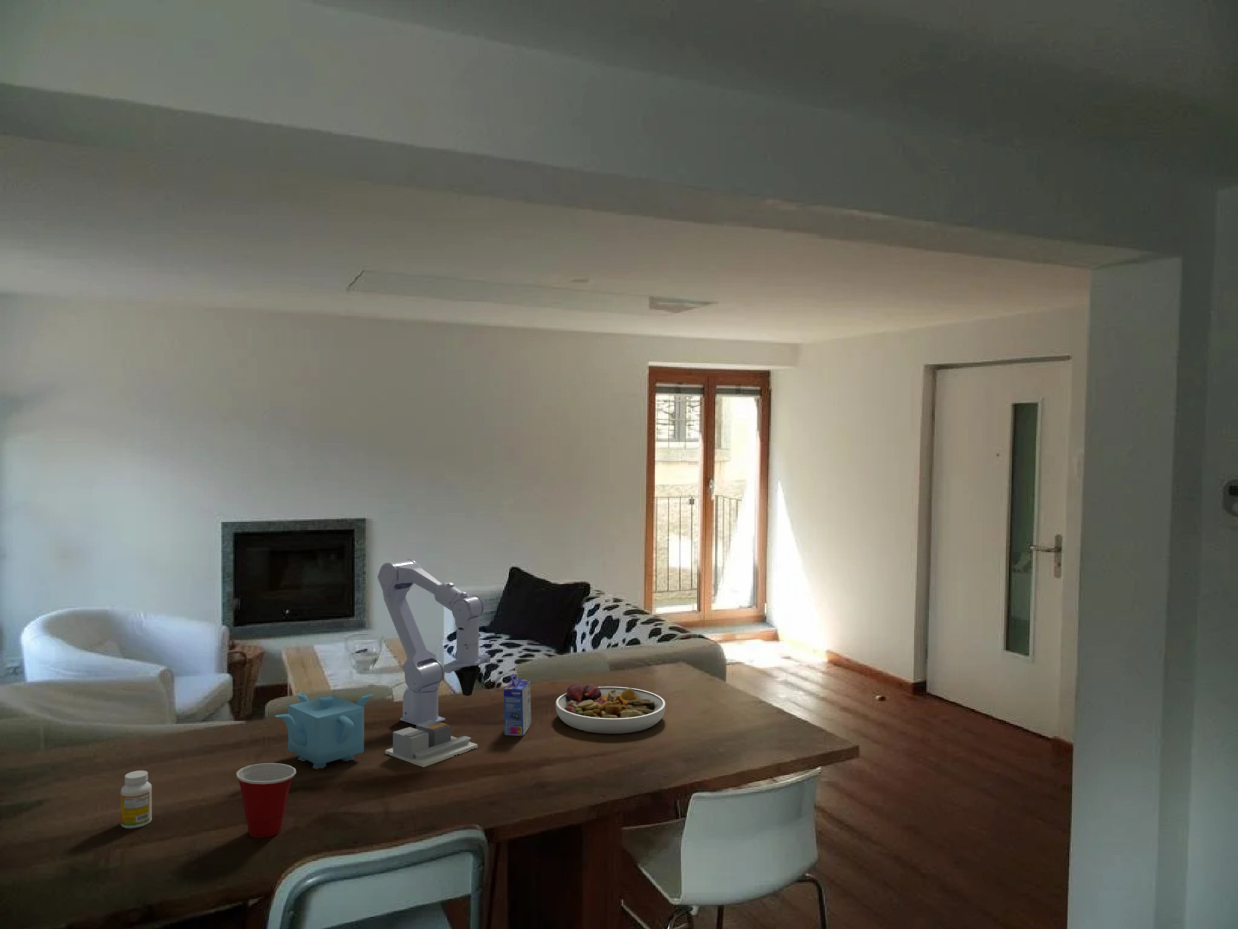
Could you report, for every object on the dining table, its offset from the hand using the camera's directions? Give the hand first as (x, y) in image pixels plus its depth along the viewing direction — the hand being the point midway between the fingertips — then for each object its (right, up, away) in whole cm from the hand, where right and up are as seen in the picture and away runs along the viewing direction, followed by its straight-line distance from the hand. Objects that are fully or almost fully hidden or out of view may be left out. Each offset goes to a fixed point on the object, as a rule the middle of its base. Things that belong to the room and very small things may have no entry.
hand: (467, 695), depth 231 cm
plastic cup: (-28, -11, -60) cm, 67 cm away
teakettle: (-31, -10, -20) cm, 38 cm away
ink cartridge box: (+13, -10, +2) cm, 16 cm away
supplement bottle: (-55, -11, -57) cm, 80 cm away
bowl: (+37, -10, +12) cm, 40 cm away
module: (-6, -9, -14) cm, 17 cm away
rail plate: (-6, -10, -15) cm, 19 cm away
